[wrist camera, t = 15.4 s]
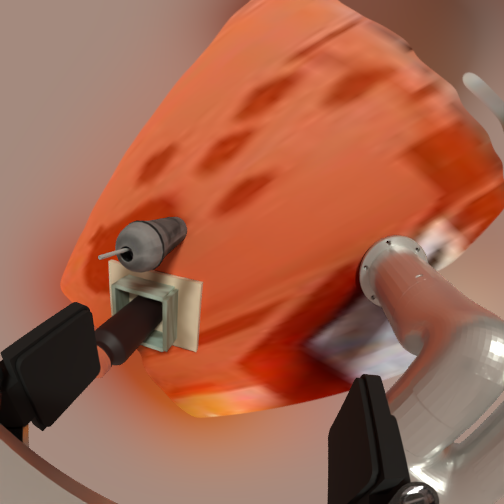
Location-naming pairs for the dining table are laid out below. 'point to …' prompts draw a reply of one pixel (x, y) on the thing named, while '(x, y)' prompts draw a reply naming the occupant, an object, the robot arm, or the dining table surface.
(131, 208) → the dining table surface
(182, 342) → the bottle caddy
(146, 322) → the vinegar
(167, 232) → the beverage cup
